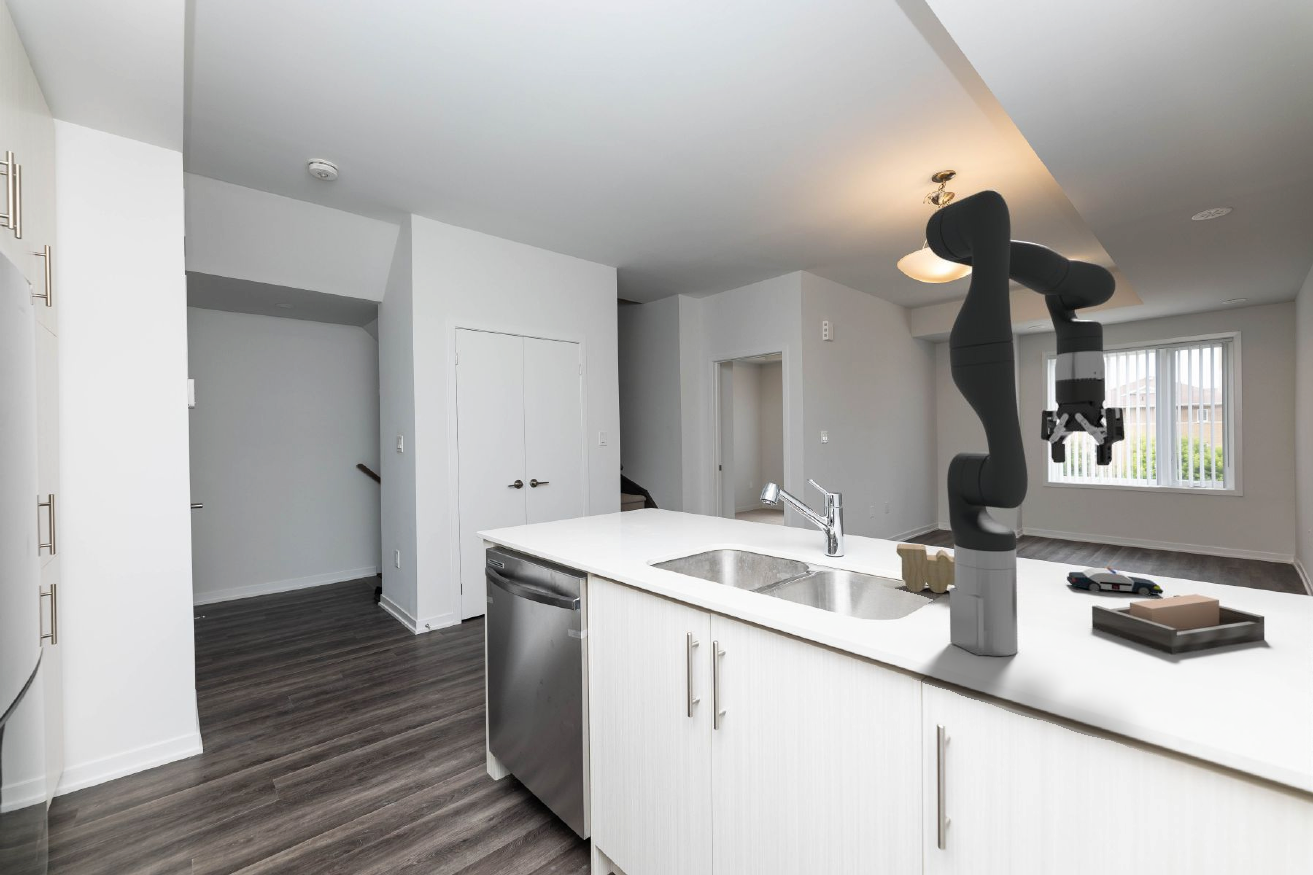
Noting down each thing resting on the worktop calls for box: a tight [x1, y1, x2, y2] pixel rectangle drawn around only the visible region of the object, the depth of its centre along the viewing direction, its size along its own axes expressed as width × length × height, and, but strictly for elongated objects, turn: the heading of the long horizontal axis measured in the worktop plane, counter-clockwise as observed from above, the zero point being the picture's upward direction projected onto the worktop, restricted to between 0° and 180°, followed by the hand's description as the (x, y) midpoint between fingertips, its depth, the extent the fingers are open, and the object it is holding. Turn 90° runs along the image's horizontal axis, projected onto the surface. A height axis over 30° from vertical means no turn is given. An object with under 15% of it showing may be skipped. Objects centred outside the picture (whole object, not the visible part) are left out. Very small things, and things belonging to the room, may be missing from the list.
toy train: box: [896, 543, 955, 594], centre depth 130 cm, size 6×17×10 cm, turn 66°
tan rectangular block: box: [1129, 593, 1220, 631], centre depth 101 cm, size 16×4×4 cm, turn 104°
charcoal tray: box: [1091, 594, 1265, 655], centre depth 101 cm, size 21×13×4 cm, turn 104°
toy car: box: [1066, 566, 1164, 597], centre depth 127 cm, size 5×16×5 cm, turn 65°
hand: (1080, 463), depth 107 cm, fingers open, 8 cm apart
